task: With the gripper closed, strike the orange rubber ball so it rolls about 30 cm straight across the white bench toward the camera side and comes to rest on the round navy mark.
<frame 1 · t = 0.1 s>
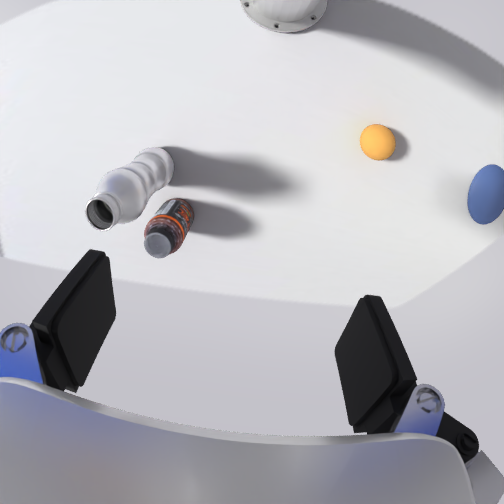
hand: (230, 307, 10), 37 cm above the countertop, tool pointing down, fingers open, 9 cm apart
supplement bottle: (177, 213, 48), on the countertop
plastic bottle: (158, 164, 44), on the countertop
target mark: (489, 195, 44), on the countertop
ball: (377, 142, 39), on the countertop
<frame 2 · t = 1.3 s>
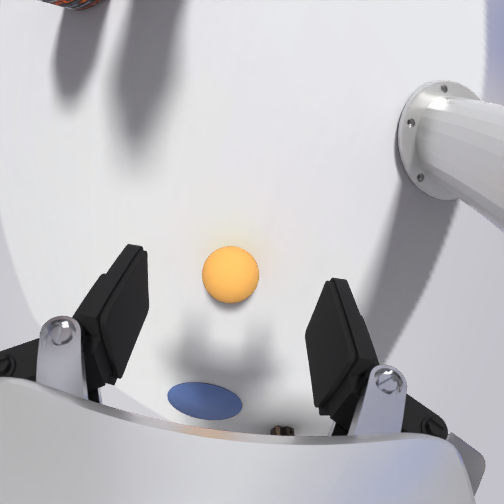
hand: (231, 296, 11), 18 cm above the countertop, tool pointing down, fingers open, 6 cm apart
industrial component: (282, 428, 51), on the countertop
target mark: (204, 402, 46), on the countertop
ball: (230, 274, 29), on the countertop
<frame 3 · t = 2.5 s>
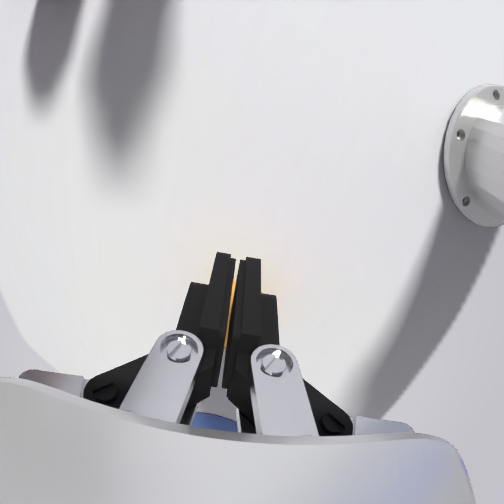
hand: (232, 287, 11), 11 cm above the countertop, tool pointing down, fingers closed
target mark: (206, 430, 41), on the countertop
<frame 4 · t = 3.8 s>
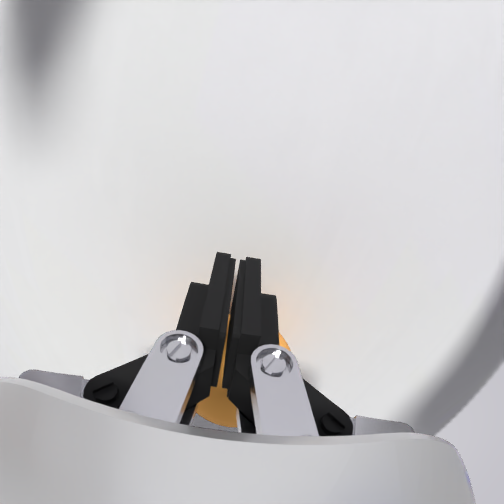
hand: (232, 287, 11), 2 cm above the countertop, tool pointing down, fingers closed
ball: (235, 371, 13), on the countertop
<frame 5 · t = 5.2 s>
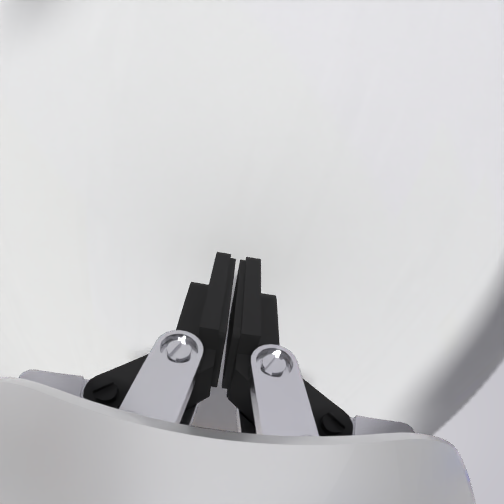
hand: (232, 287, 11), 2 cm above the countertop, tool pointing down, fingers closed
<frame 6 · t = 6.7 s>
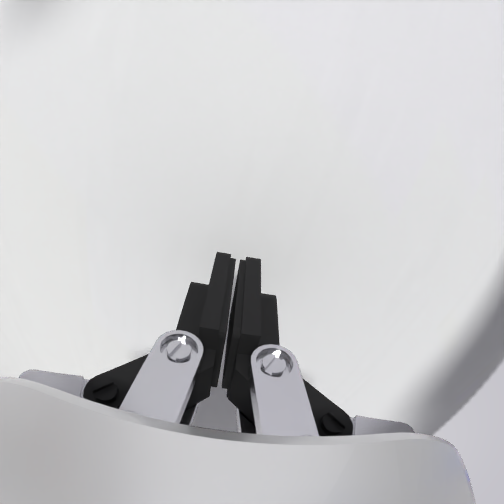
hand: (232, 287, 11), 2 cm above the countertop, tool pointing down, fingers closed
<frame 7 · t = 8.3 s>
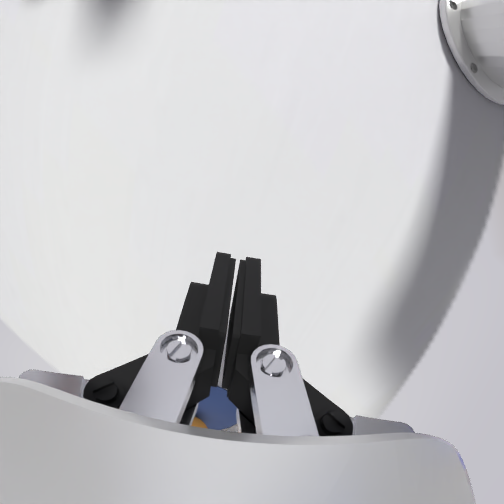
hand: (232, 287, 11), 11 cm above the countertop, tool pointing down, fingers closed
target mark: (193, 408, 34), on the countertop
ball: (188, 434, 32), on the countertop
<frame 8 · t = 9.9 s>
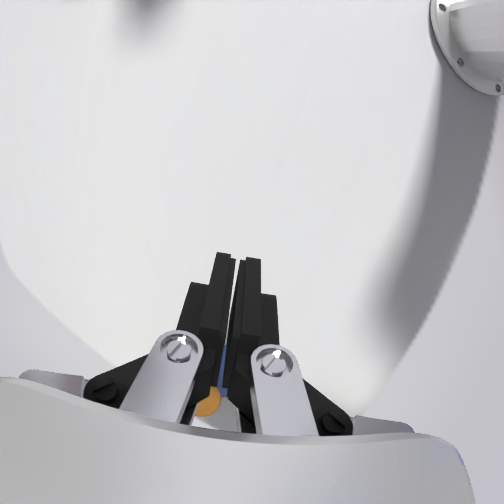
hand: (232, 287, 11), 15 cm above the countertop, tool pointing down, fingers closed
ball: (201, 398, 37), on the countertop
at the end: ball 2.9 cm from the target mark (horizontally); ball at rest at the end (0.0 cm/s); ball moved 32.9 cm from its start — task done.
